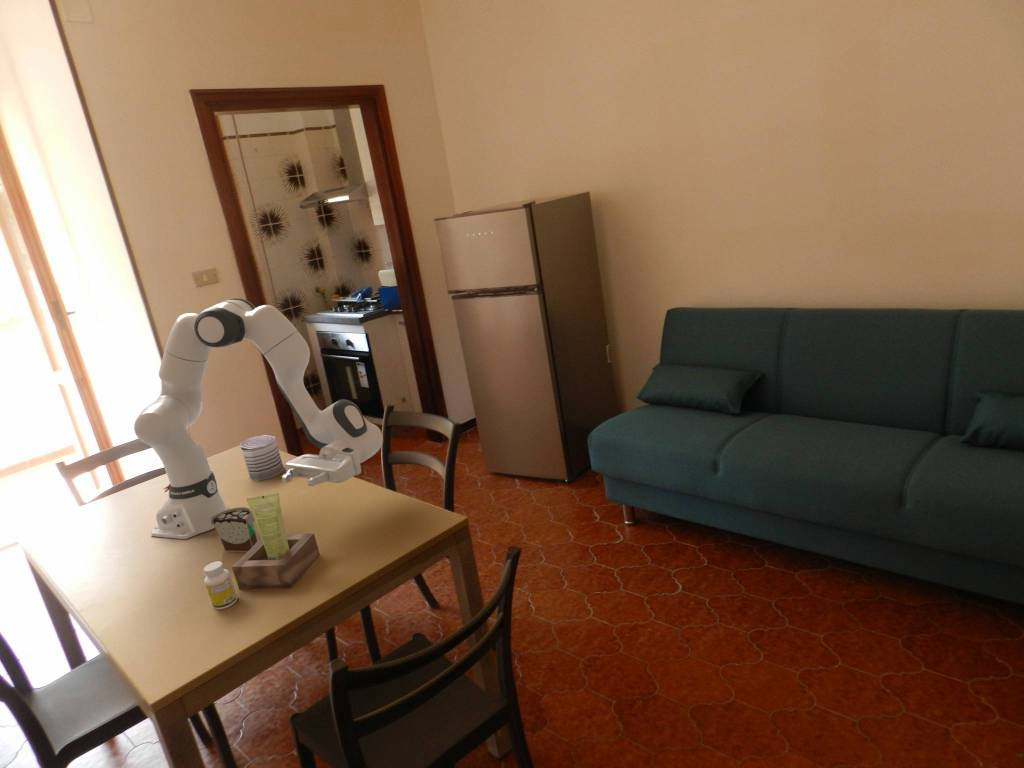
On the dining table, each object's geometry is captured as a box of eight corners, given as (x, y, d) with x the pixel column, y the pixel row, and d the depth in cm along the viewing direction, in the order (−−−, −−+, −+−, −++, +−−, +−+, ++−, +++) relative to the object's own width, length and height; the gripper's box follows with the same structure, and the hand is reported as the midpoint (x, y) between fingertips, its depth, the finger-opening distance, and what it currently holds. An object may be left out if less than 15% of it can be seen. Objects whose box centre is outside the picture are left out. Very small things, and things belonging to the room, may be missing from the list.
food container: (273, 539, 187) (262, 506, 184) (258, 552, 182) (247, 517, 179) (236, 539, 191) (225, 506, 189) (220, 551, 186) (209, 517, 183)
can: (265, 465, 243) (256, 433, 240) (291, 466, 238) (281, 433, 235) (242, 480, 233) (231, 447, 230) (268, 481, 229) (258, 447, 225)
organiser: (239, 589, 165) (231, 566, 163) (270, 556, 178) (264, 535, 176) (291, 587, 162) (284, 565, 160) (320, 554, 174) (314, 533, 173)
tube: (289, 559, 173) (268, 488, 167) (299, 565, 169) (278, 492, 163) (268, 571, 169) (245, 498, 163) (278, 577, 165) (255, 502, 160)
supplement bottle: (217, 598, 163) (205, 561, 160) (241, 594, 163) (228, 557, 160) (210, 612, 158) (196, 574, 155) (234, 607, 158) (221, 569, 155)
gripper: (306, 445, 193) (266, 466, 182) (360, 451, 182) (321, 474, 171) (311, 466, 194) (272, 488, 183) (365, 473, 183) (327, 497, 172)
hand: (296, 481), depth 177 cm, fingers open, 8 cm apart
